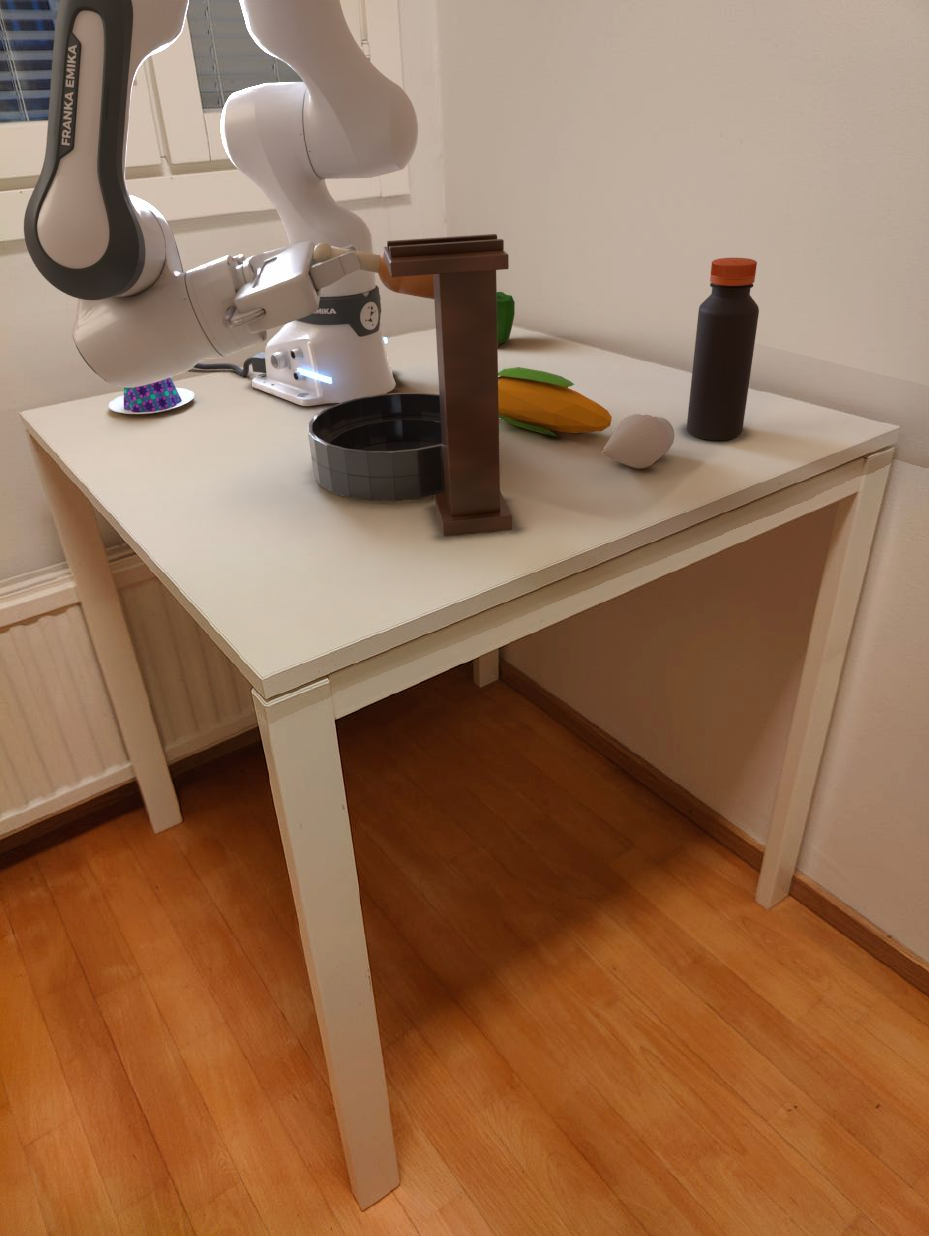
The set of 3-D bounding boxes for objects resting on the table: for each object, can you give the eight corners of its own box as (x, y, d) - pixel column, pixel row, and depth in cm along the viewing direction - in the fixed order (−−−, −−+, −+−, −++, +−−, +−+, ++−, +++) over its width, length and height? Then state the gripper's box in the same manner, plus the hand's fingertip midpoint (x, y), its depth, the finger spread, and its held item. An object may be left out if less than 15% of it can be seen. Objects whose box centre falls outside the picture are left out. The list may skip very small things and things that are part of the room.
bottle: (753, 433, 107) (779, 261, 96) (713, 445, 104) (734, 269, 93) (714, 418, 112) (733, 253, 101) (674, 430, 109) (690, 261, 98)
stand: (412, 542, 85) (389, 251, 71) (404, 508, 92) (382, 237, 78) (513, 531, 86) (510, 243, 72) (498, 499, 93) (493, 230, 79)
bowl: (278, 480, 100) (270, 430, 97) (391, 428, 113) (387, 383, 110) (412, 520, 90) (408, 466, 86) (518, 458, 103) (518, 409, 100)
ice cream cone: (592, 491, 94) (654, 468, 105) (636, 465, 89) (696, 444, 100) (566, 441, 94) (631, 423, 105) (609, 413, 90) (672, 397, 101)
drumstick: (310, 281, 86) (315, 230, 84) (312, 271, 90) (316, 222, 88) (459, 308, 89) (468, 259, 87) (455, 298, 93) (463, 251, 91)
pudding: (173, 387, 133) (165, 352, 130) (210, 404, 125) (202, 367, 122) (96, 405, 126) (87, 370, 124) (130, 425, 119) (121, 387, 116)
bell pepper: (483, 335, 152) (481, 275, 147) (522, 340, 148) (522, 279, 143) (455, 346, 147) (452, 284, 141) (495, 352, 142) (494, 289, 137)
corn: (507, 350, 114) (632, 378, 102) (510, 405, 119) (631, 438, 107) (468, 367, 110) (594, 398, 98) (473, 424, 115) (594, 459, 103)
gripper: (203, 296, 78) (345, 241, 77) (230, 255, 96) (346, 210, 94) (235, 361, 82) (371, 309, 81) (256, 311, 99) (368, 267, 98)
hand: (358, 255), depth 88 cm, fingers closed on drumstick
